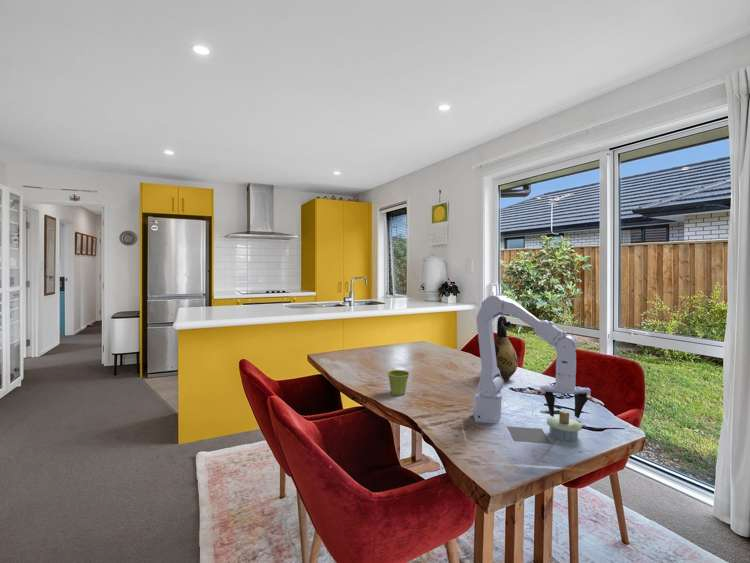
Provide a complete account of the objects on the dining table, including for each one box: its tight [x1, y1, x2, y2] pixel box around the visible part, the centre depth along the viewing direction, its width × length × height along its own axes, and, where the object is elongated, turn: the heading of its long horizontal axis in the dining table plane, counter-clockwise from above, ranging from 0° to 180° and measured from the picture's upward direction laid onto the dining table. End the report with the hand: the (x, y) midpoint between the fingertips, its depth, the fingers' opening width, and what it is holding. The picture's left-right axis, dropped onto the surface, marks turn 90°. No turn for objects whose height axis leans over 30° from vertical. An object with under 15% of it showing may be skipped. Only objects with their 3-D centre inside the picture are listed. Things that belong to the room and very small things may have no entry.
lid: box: [546, 410, 583, 432], centre depth 128 cm, size 10×10×4 cm
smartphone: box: [540, 408, 586, 427], centre depth 145 cm, size 7×16×1 cm, turn 12°
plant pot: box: [386, 369, 411, 396], centre depth 170 cm, size 9×9×9 cm
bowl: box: [548, 426, 579, 442], centre depth 128 cm, size 8×8×4 cm
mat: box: [506, 426, 552, 444], centre depth 129 cm, size 11×11×1 cm
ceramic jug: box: [494, 315, 519, 382], centre depth 194 cm, size 17×15×30 cm
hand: (564, 416), depth 128 cm, fingers open, 7 cm apart
